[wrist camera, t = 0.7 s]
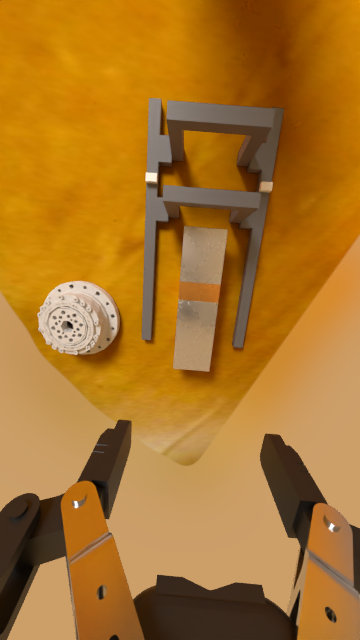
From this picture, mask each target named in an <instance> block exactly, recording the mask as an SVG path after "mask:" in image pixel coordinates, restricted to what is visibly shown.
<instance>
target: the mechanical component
mask: <svg viewBox="0 0 360 640" xmlns="http://www.w3.org/2000/svg"><path fill="white" fill-rule="evenodd" d="M99 293H100V294H99ZM113 314H114V315H113ZM37 315H38V318H39V328H38V330H39V331H41V333H42V335H43V336H44V338H45V339H46V343H47V344H49V345H51V346H52V349H57V350H59V352H60V353H63V352H64V353H68V354H74V355H77V354H82V355H85V354H95V353H97V352H99V351H102V350H104V349H105V348H106V347H107V346H108V345H110V344H111V343H112V341H113V340H114V338H115V337H116V335H117V334H118V331H119V327H120V316H119V311H118V308H117V306H116V304H115V302H114V300H113V298H112V297H111V296H110V295H109V294H108V293H107V292H106V291H105V290H104V289H102V288H100V287H99V286H97V285H95V284H92V283H90V282H84V281H74V282H68V283H64V284H61V285H59V286H57V287H56V288H54V289H53V290H52V291H51V292H50V293H49V295H48V296H47V298H46V299H45V302H44V305H43V306H41V307H40V312H39V313H38V314H37Z"/></svg>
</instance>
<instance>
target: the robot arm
mask: <svg viewBox="0 0 360 640" xmlns="http://www.w3.org/2000/svg"><path fill="white" fill-rule="evenodd" d="M131 425H132V422H131V421H129V420H118V422H117V424H116V426H115V429H107V430H106V431H105V432H104V433H103V434H102V435H101V436H100V438H99V440H98V442H97V444H96V446H95V448H94V450H93V452H92V454H91V456H90V458H89V460H88V462H87V464H86V466H85V468H84V470H83V472H82V474H81V476H80V478H79V479H78V481H77V483H76V484H74V485H72V486H71V487H70V488H69V489H68V490H67V491H66V492H65V493H64V494H62V495H60V496H56V497H53V498H49V499H44V500H39V497H38V496H37V495H36V494H33V493H27V494H23V495H20V496H18V497H17V498H15V499H13V500H12V501H10V502H9V503H8V504H7V505H6V506H5V507H4V508H3V509H2V511H1V512H0V640H7V638H8V636H9V633H10V631H11V629H12V626H13V624H14V622H15V620H16V617H17V615H18V613H19V611H20V608H21V606H22V604H23V602H24V600H25V597H26V595H27V593H28V591H29V588H30V586H31V584H32V581H33V579H34V577H35V575H36V572H37V570H38V568H39V566H40V564H43V563H46V562H49V561H52V560H55V559H58V558H61V557H64V556H66V562H67V570H68V578H69V586H70V594H71V602H72V610H73V618H74V628H75V635H76V640H360V597H359V594H360V528H357V527H355V526H352V525H350V524H349V523H348V522H347V520H346V519H345V518H344V516H343V515H342V514H341V513H340V512H338V511H337V510H336V509H335V508H333V507H331V506H329V505H328V504H327V502H326V500H325V499H324V497H323V495H322V493H321V492H320V490H319V488H318V487H317V485H316V483H315V482H314V480H313V478H312V477H311V475H310V473H308V470H307V468H306V466H305V465H304V463H303V462H302V460H301V458H300V456H299V455H298V453H297V452H295V450H294V449H293V448H292V447H290V446H286V445H285V443H284V441H283V439H282V438H281V436H280V435H276V434H265V436H264V441H263V444H262V449H261V454H260V461H261V466H262V468H263V471H264V474H265V476H266V479H267V482H268V485H269V487H270V490H271V492H272V495H273V498H274V501H275V503H276V506H277V509H278V511H279V514H280V517H281V519H282V522H283V525H284V527H285V530H286V533H287V535H288V537H289V538H297V539H298V541H299V543H300V548H299V552H298V558H297V563H296V569H295V575H294V580H293V586H292V591H291V596H290V601H289V605H288V608H287V612H286V613H285V612H284V611H283V610H282V609H281V608H280V607H278V606H277V605H276V604H275V603H273V602H272V601H270V600H269V599H267V598H265V596H264V593H263V588H262V585H256V584H246V583H233V584H230V585H227V586H224V587H221V588H218V589H215V590H207V589H205V588H203V587H201V586H199V585H197V584H195V583H193V582H191V581H189V580H187V579H185V578H183V577H174V576H164V575H157V583H156V586H153V587H150V588H148V589H146V590H144V591H143V592H141V593H140V594H139V595H138V596H136V597H135V598H134V599H132V596H131V593H130V590H129V586H128V583H127V580H126V576H125V573H124V570H123V566H122V563H121V560H120V557H119V553H118V550H117V547H116V544H115V540H114V537H113V535H112V533H109V530H108V527H107V524H106V520H105V519H109V517H110V514H111V511H112V507H113V504H114V501H115V498H116V494H117V491H118V488H119V484H120V481H121V478H122V474H123V471H124V468H125V465H126V461H127V458H128V455H129V451H130V446H131Z"/></svg>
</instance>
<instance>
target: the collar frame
mask: <svg viewBox="0 0 360 640" xmlns="http://www.w3.org/2000/svg"><path fill="white" fill-rule="evenodd" d="M283 113H284V108H274V107H272V108H260V107H247V106H234V105H221V104H208V103H195V102H181V101H168V103H167V125H168V133H169V136H168V135H161V122H162V102H161V99H155V98H149V120H148V153H147V172H146V183H147V186H146V219H145V252H144V285H143V317H142V339H143V340H151V338H152V324H153V301H154V279H155V256H156V234H157V222H163V223H169V218H179V211H180V206H189V207H202V208H214V209H227V210H231V213H230V221H229V222H231V223H239V229H250V234H249V240H248V247H247V253H246V259H245V266H244V272H243V278H242V285H241V291H240V297H239V304H238V310H237V316H236V323H235V329H234V335H233V342H232V345H233V347H237V348H243V343H244V337H245V331H246V325H247V320H248V314H249V308H250V302H251V297H252V291H253V285H254V279H255V274H256V268H257V262H258V257H259V251H260V245H261V239H262V234H263V228H264V222H265V216H266V211H267V205H268V199H269V193H270V192H271V191H272V187H273V182H272V176H273V170H274V165H275V159H276V153H277V147H278V142H279V136H280V130H281V124H282V119H283ZM184 130H190V131H203V132H216V133H229V134H242V135H247V136H246V138H245V140H244V142H243V144H242V146H241V148H240V151H239V153H238V160H237V166H247V173H257V174H259V177H258V184H257V190H256V192H245V191H233V190H220V189H207V188H195V187H182V186H169V185H163V197H158V189H159V167H160V166H167V167H172V161H183V155H184ZM263 141H264V143H263Z"/></svg>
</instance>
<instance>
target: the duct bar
mask: <svg viewBox="0 0 360 640" xmlns="http://www.w3.org/2000/svg"><path fill="white" fill-rule="evenodd" d="M227 233H228V230H226V229H214V228H202V227H189V226H184V236H183V249H182V262H181V275H180V288H179V300H178V313H177V326H176V339H175V352H174V365H173V369H184V370H196V371H208V372H209V370H210V362H211V355H212V347H213V339H214V332H215V324H216V316H217V309H218V301H219V294H220V286H221V278H222V271H223V263H224V255H225V248H226V240H227Z"/></svg>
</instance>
